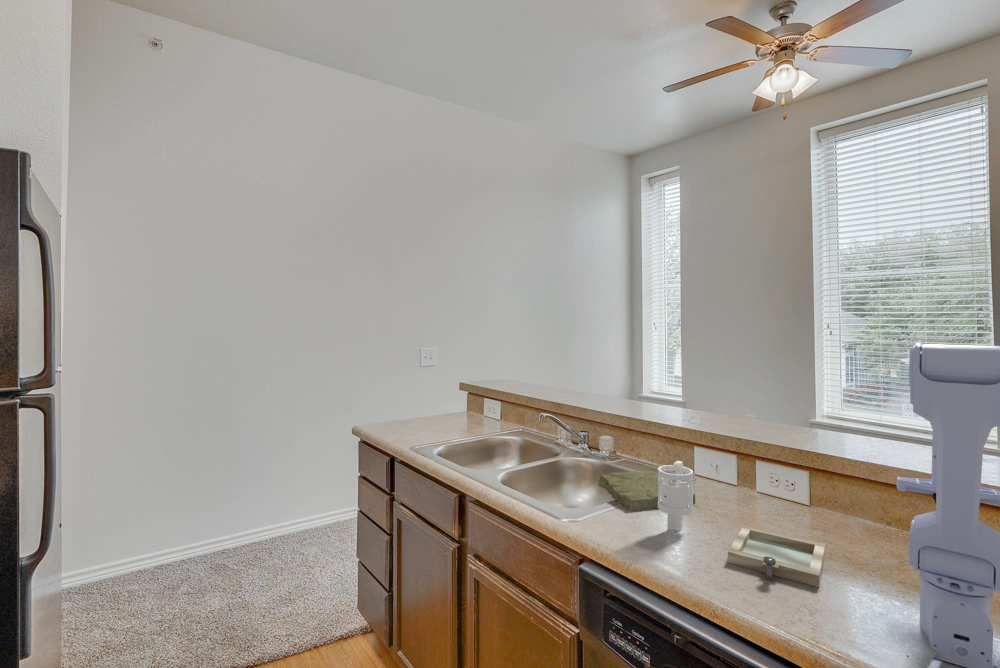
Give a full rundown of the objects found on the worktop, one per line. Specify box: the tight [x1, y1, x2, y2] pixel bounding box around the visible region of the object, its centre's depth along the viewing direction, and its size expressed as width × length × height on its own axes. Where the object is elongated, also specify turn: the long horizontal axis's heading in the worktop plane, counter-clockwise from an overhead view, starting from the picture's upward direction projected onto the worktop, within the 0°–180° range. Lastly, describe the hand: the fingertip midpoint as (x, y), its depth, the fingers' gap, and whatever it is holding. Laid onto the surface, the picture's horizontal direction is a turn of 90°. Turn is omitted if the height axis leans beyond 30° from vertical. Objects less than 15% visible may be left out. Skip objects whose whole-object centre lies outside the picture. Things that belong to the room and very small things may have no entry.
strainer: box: [657, 460, 694, 532], centre depth 104 cm, size 7×7×15 cm
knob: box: [763, 557, 776, 582], centre depth 83 cm, size 2×2×5 cm
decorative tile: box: [597, 470, 696, 512], centre depth 129 cm, size 19×20×4 cm
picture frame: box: [727, 525, 826, 588], centre depth 90 cm, size 15×14×2 cm
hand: (953, 541), depth 79 cm, fingers closed
